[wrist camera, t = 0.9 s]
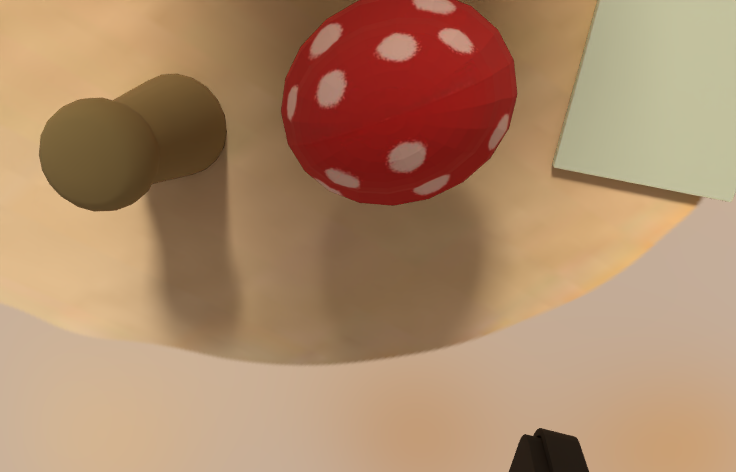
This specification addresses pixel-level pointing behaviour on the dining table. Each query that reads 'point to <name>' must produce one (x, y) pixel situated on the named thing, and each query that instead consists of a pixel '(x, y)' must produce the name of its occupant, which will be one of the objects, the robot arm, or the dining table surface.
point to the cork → (131, 141)
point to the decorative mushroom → (398, 99)
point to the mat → (656, 97)
